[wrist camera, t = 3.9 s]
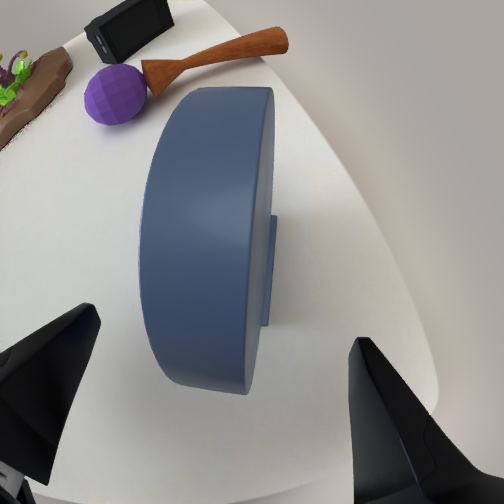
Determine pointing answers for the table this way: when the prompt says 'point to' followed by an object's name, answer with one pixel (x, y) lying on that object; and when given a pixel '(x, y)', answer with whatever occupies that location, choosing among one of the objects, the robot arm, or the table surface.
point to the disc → (210, 237)
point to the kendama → (166, 75)
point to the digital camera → (128, 28)
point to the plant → (29, 89)
